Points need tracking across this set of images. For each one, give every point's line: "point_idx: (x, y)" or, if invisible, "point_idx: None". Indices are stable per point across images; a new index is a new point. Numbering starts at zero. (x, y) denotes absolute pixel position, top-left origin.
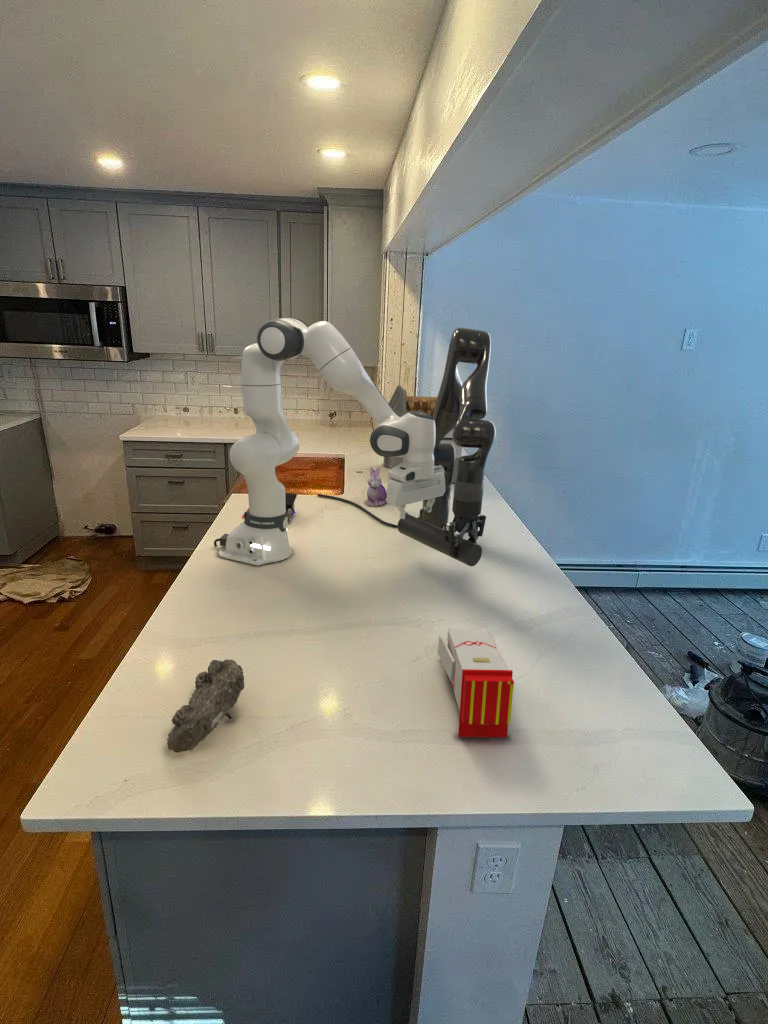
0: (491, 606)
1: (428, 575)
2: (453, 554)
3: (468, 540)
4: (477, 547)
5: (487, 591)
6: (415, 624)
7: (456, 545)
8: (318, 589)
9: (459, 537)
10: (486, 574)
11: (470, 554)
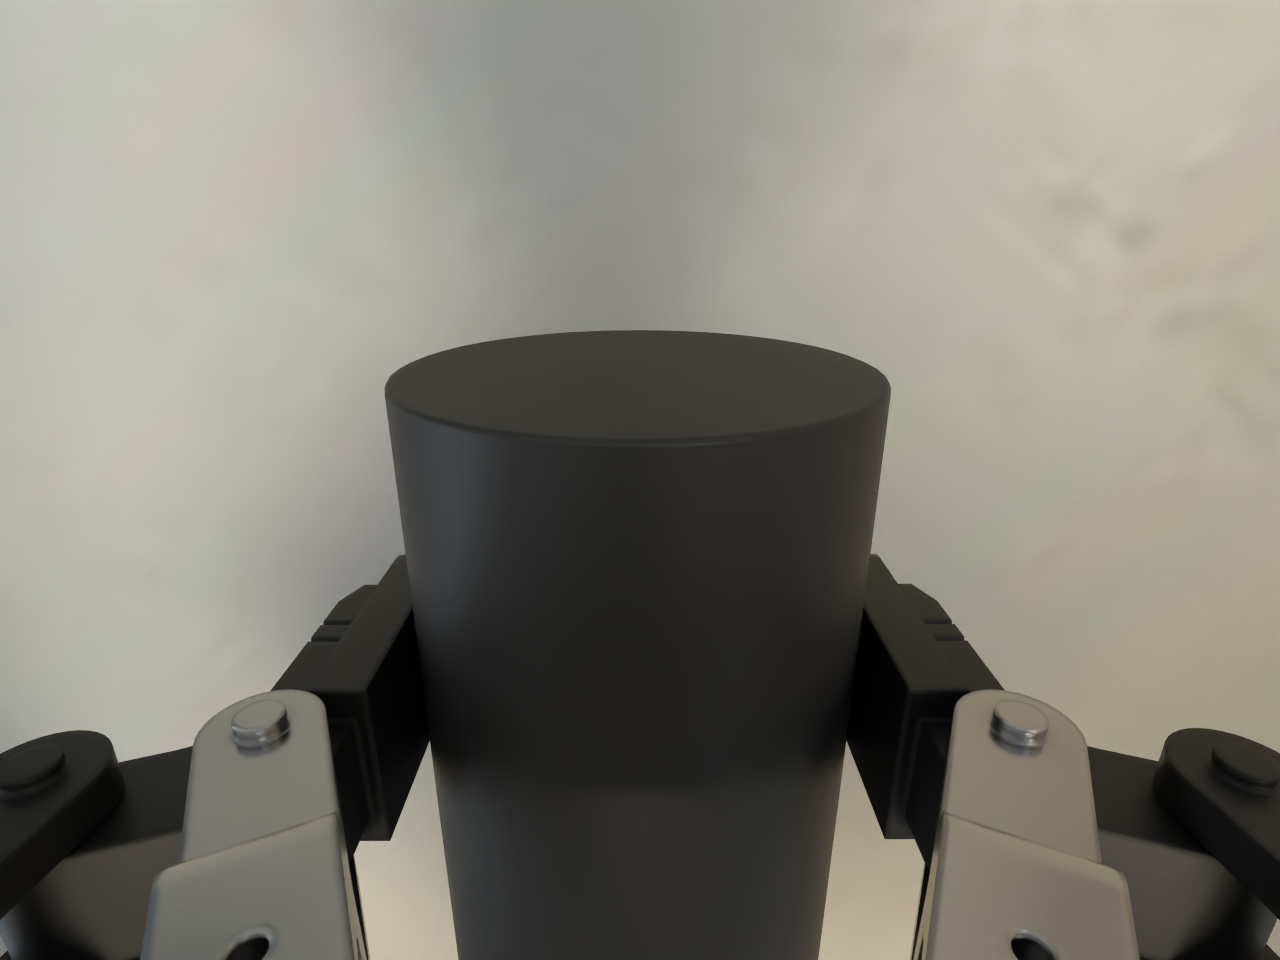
0: (516, 101)
1: None
2: (942, 612)
3: (533, 748)
4: (547, 413)
5: (348, 325)
6: (1262, 286)
7: (1025, 708)
8: (1270, 944)
9: (1122, 875)
10: (148, 537)
11: (780, 380)
